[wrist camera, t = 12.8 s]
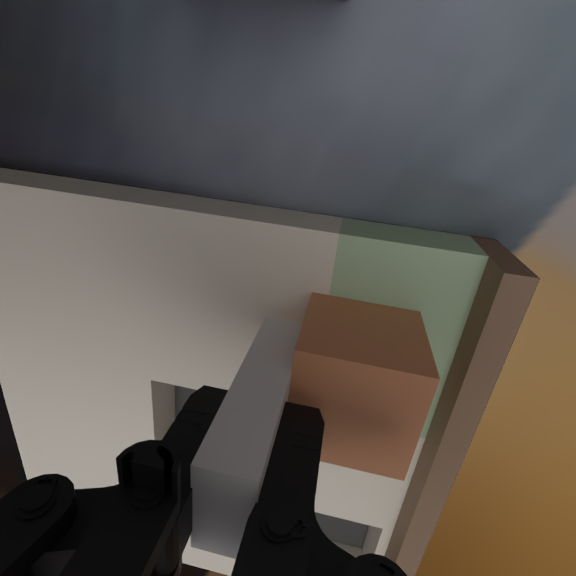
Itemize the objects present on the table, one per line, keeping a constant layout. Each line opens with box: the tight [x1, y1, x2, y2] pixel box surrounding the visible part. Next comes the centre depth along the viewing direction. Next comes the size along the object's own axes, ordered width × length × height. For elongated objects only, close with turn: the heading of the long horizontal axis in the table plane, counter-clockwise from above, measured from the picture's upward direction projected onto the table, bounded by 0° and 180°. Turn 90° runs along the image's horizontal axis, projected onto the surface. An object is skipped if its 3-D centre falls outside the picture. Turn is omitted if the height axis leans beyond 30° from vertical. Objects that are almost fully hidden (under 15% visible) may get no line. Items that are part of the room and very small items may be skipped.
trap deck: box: [0, 168, 540, 576], centre depth 19 cm, size 22×22×4 cm
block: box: [288, 292, 440, 481], centre depth 13 cm, size 4×4×4 cm
